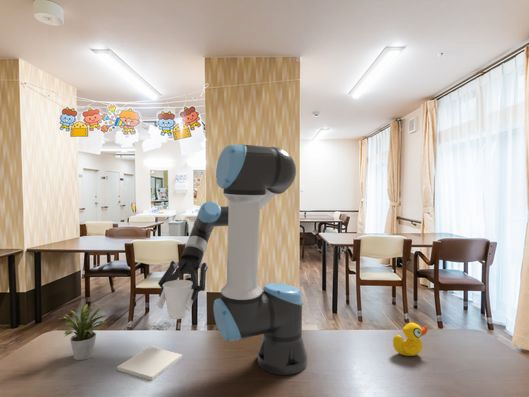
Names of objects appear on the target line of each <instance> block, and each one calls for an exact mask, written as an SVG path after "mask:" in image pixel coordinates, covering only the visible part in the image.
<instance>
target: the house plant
mask: <svg viewBox="0 0 529 397" xmlns="http://www.w3.org/2000/svg"><path fill="white" fill-rule="evenodd" d="M95 305H96V304H93V305H92V307H91V308H90V309H89V308H88V306H89V304H88V303H86V304H85V305H83V303H81V307H80V318H79V316H78V314H77V313H76V312H75V311H74V310H72V309H70V311H69V312H68V313H72V316H73V317H74V319H75V320H74V319H73V318H72V317H70V315H68V314H64V316H61V317H60V318H59V320H61V319H62V318H63V319H65V320H67V321H68V322H66V323H65V325H66V326H67V327H71V328H73V330H70V329H69V330H65V332H64V334H63V336H64V337H66V336H68V335H71V334H74V335H72V336H71V337H70V338H69V339H70V344H71V348H72V353H73V359H74V360H77V361H83V360H84V361H85V360H87V359H90V358H91V357H92V356H93V355H94V349H95V345H96V344H95V343H96V338H97V333H96V332H95V331H93V330H94V329H95V328H98V327H106V325H105V324H106V321H100V319H102V318H105V317H106V315H101V314H103V313H104V311H101V312H99V311H100V310H101V309H102V308H103V307H104V305H102V306H100V307H99V308H97V309H96V310H95V311H94V312H93V313H92V315H91V316H90V314H91V312H92V310H94V307H95ZM98 312H99V313H98ZM106 312H108V311H107V310H106V311H105V313H106ZM89 316H90V317H89ZM110 316H111V315H107V317H110ZM98 320H99V321H98ZM75 321H76V322H75Z"/></svg>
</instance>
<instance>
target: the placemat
mask: <svg viewBox="0 0 529 397" xmlns="http://www.w3.org/2000/svg"><path fill="white" fill-rule="evenodd" d="M182 358H183V354H181V353H177V352H172V351H168V350H166V349H162V348H157V347H154V346H148V347H146V348H145V349H143V350H141V351H139V353H137V354H135V355H133V356H132V357H130V358H129V359H127V360H126V361H124V362H123V363H121V364H119V365H118V366H116V370H117V371H119V372H122V373H126V374H129V375H133V376H135V377H140V378H142V379H146V380H150V381H154V380H155V379H157V378H158V377H159V376H160V375H162V374H163V373H164V372H166V371H167V370H168V369H169V368H171V367H172V366H173V365H175V364H176V363H177V362H178V361H180V360H182Z"/></svg>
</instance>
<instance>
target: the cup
mask: <svg viewBox="0 0 529 397" xmlns="http://www.w3.org/2000/svg"><path fill="white" fill-rule="evenodd" d="M193 286H194V285H193V280H188V279H177V280H173V281H169V282H166V283H164V284H163V287H164V293H165V298H166V300H165V302H166V303H165V304H166V308H167V314H168V318H170V319H173V320H180V319H184V318H185V317H187V315H188V314H189V311H188V310H187V309H186V308H185V306H186V303H187V300H188V297H189V294H190V291H191V289H193Z"/></svg>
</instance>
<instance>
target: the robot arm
mask: <svg viewBox="0 0 529 397" xmlns="http://www.w3.org/2000/svg"><path fill="white" fill-rule="evenodd" d="M296 174H297V167H296V164H295V161H294V159H293V157H292V156H291V154H290V153H288V152H287V151H286V150H285V149H282V148H280V147H276V146H261V145H252V144H242V143H241V144H229V145H226V146H224V148H223V149H222V151H221V153H220V155H219V157H218V160H217V164H216V170H215V178H216V184H217V186H218V187H219V188H221V189H223V196H224V197H226V199H227V200H228V206H220V205H219V203H217V202H214V201H206V202H203V204H202V205H201V206H200V207H199V210H198V213H197V215H196V219H194V220H195V221H194V223H193V226H192V228H191V232H190V234H189V236H188V238H187V241H186V243H185V246H184V248H183V251H182V254H181V256H180V257H181V258H180V260H179V261H177V262H175V261H174V260H172V261H171V262H170V264H169V266H168V268H167V270H166V271H165V272H164V274H163V275H162V277H161V278H160V280H159V281H158V282H157V284H158V287H160V292H159V293H158V297H159V298H158V301H157V303H156V305H157V306H158V308H159V309H163V307H164V305H165V304H166V303H165V302H166V298H165V293H164V287H163V284H164V283H166V282H169V281H173V280H179V278H180V277H182V276H183V275H191V281H192V282H193V285H192V286H193V288H192V289H191V291H190V294H189V297H188V300H187V303H186V306H185V308H186V309H187V310H188V312H191V309H192V305H193V303H194V301H196V300H197V298H198V295H199V292H204V291H206V276H207V275H206V274H207V270H208V265H207V263H206V262H203V263H202V260H203V257H204V254H205V253H206V249H207V245H208V242H209V240H210V237H211V234H212V232H213V230H214V229H215V227H227V254H226V255H227V259H226V260H227V262H226V263H227V264H226V284H225V285H224V286H223V287H222V288H221V289H220V297H218V298H216V299H215V300H214V301H213V306H212V307H213V316H214V320H215V321H214V322H215V325H216V328H217V330H218V332H219V335H220V336H221V337H222V339H223V340H224V341H226V342H233V341H241V340H242V339H247V338H251V337H256V336H260V335H263V336H262V341H261V343H260V345H259V349H258V352H257V364H258V366H259V367H260V368H261V369H262V370H264V371H265V372H267V373H269V374H274V375H279V376H288V375H296V374H298V373H301V372H303V370H304V369H306V368H307V366H308V352H307V350H306V349H307V348H306V346H305V342H304V340H303V334H302V333H303V296H302V292H301V290H300V289H299V288H297V287H295V286H293V285H290V284H285V283H278V282H277V283H276V282H272V283H267V284H265V285H264V286H263V288H261V287H260V286H259V285H258V274H259V273H258V271H259V270H258V268H259V267H258V266H259V261H258V260H259V243H260V242H259V238H260V237H259V236H260V232H259V231H260V210H261V209H262V208H263V207H264V206H266V204H268V203H269V202H270V201H271V200H273V198H274V197H275V196H277V195H281V194H283V193H285V192H286V191H287V190H288V189H289V188H291V186H292V185H293V184H294V181H295V179H296ZM199 269H200V273H199V281H198V277H197V271H198V270H199ZM262 289H263V290H262Z"/></svg>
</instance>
